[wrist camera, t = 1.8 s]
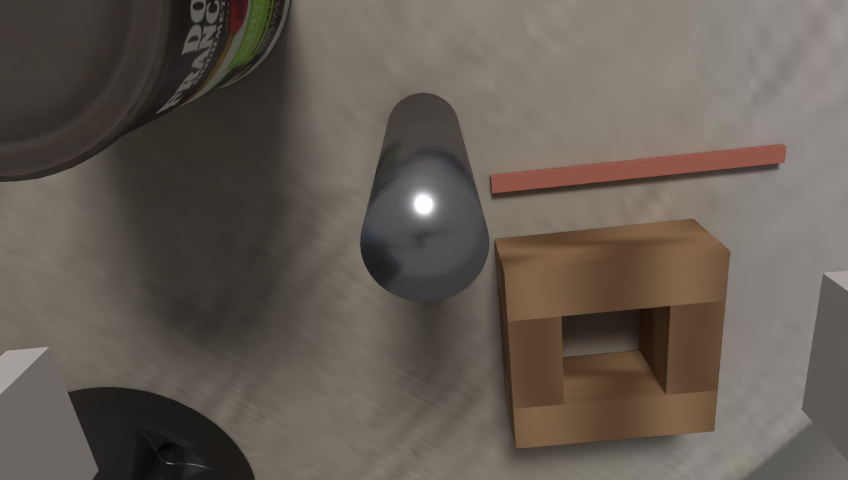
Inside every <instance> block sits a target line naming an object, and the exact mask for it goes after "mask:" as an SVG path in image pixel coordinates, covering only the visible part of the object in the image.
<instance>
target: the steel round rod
mask: <svg viewBox="0 0 848 480" xmlns="http://www.w3.org/2000/svg"><path fill="white" fill-rule="evenodd" d="M360 246H361V253H362V258H363V261H364V263H365V266H366V268H367V270H368V271H369V273H370V274H371V276H372V277H373V278H374V280H375V281H376V282H377V283H378V284H379V285H380V286H382V287H383V288H384V289H385V290H387V291H389V292H390V293H392V294H394V295H396V296H398V297H401V298H404V299H407V300H412V301H419V302H431V301H438V300H442V299H446V298H448V297H451V296H453V295H455V294H457V293H459V292H461V291H462V290H464V289H465V288H466V287H468V286H469V285H470V284H471V283H472V282H473V281H474V280H475V279H476V277H477V276H478V275H479V273H480V272H481V270H482V269H483V266H484V264H485V262H486V259H487V255H488V250H489V235H488V229H487V225H486V222H485V218H484V214H483V211H482V207H481V203H480V199H479V196H478V192H477V188H476V185H475V181H474V177H473V173H472V170H471V166H470V162H469V159H468V155H467V151H466V147H465V144H464V140H463V136H462V133H461V129H460V125H459V121H458V118H457V115H456V113H455V111H454V109H453V108H452V107H451V105H450V104H449V103H448V102H447V101H445V100H444V99H443V98H441V97H439V96H437V95H434V94H430V93H417V94H413V95H410V96H408V97H406V98H404V99H403V100H401V101H400V102H399V103H398V104H397V105H396V106H395V107H394V109H393V110H392V112H391V114H390V117H389V120H388V124H387V128H386V132H385V136H384V140H383V145H382V149H381V153H380V157H379V161H378V165H377V169H376V173H375V178H374V182H373V186H372V190H371V194H370V198H369V202H368V206H367V211H366V215H365V219H364V223H363V227H362V232H361V240H360Z"/></svg>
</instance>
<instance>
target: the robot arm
mask: <svg viewBox="0 0 848 480" xmlns="http://www.w3.org/2000/svg"><path fill="white" fill-rule="evenodd" d="M802 410H803V411H804V412H805V414H806V415H807V416H808V417H809V418H810V419H811V420H812V421H813V423H814V424H815V425H816V426H817V427H818V428H819V429H820V430H821V432H822V433H823V434H824V435H825V436H826V437H827V438H828V439H829V441H830V442H831V443H832V444H833V445H834V446H835V447H836V448H837V450H838V451H839V452H840V453H841V454H842V455H843V456H844V458H845V459H846V460H847V461H848V271H841V272H831V273H823V278H822V284H821V291H820V297H819V303H818V310H817V316H816V322H815V329H814V335H813V342H812V348H811V354H810V361H809V367H808V373H807V380H806V386H805V392H804V399H803V405H802ZM0 480H254V478H253V475H252V472H251V469H250V467H249V465H248V463H247V461H246V459H245V458H244V456H243V454H242V453H241V451H240V450H239V449H238V447H237V446H236V445H235V443H234V442H233V441H232V440H231V439H230V438H229V437H228V436H227V435H226V434H225V433H224V432H223V431H222V430H221V429H220V428H219V427H218V426H217V425H215V424H214V423H213V422H211V421H210V420H209V419H207V418H206V417H204V416H203V415H201V414H200V413H198V412H196V411H195V410H193V409H191V408H189V407H187V406H185V405H183V404H181V403H179V402H177V401H174V400H172V399H169V398H166V397H164V396H160V395H157V394H154V393H150V392H146V391H141V390H135V389H128V388H116V387H99V388H88V389H81V390H76V391H72V392H68V393H67V390H66V388H65V385H64V383H63V380H62V378H61V375H60V373H59V370H58V368H57V365H56V363H55V360H54V358H53V355H52V353H51V350H50V348H49V347H43V348H33V349H22V350H12V351H6V352H5V353H4V354H2V355H1V356H0Z"/></svg>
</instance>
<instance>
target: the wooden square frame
mask: <svg viewBox="0 0 848 480" xmlns="http://www.w3.org/2000/svg"><path fill="white" fill-rule="evenodd" d="M495 250H496V264H497V279H498V293H499V307H500V321H501V335H502V349H503V364H504V378H505V392H506V402H507V407H508V412H509V417H510V422H511V427H512V432H513V437H514V442H515V446H516V449H518V448H530V447H541V446H552V445H563V444H575V443H586V442H597V441H609V440H620V439H631V438H642V437H654V436H665V435H676V434H688V433H699V432H710V431H714V425H715V414H716V403H717V391H718V380H719V369H720V358H721V347H722V335H723V324H724V313H725V302H726V291H727V279H728V268H729V257H730V250H729V249H727V248H726V247H725V246H724V245H723V244H722V243H720V242H719V241H718V240H717V239H716V238H715V237H714V236H712V235H711V234H710V233H709V232H708V231H707V230H705V229H704V228H703V227H702V226H701V225H700V224H699V223H697V222H696V221H695V220H694V219H688V220H678V221H668V222H658V223H648V224H639V225H629V226H619V227H609V228H599V229H590V230H580V231H570V232H560V233H550V234H540V235H531V236H521V237H511V238H501V239H495ZM632 309H641V315H640V348H639V350H637V351H627V352H616V353H605V354H595V355H584V356H573V357H563V351H562V316H570V315H580V314H591V313H601V312H611V311H622V310H632Z"/></svg>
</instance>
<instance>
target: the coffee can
mask: <svg viewBox="0 0 848 480" xmlns="http://www.w3.org/2000/svg"><path fill="white" fill-rule="evenodd" d="M289 4H290V0H0V182H8V181H22V180H30V179H38V178H42V177H45V176H49V175H52V174H56V173H59V172H61V171H64V170H67V169H70V168H72V167H74V166H76V165H78V164H80V163H82V162H84V161H86V160H88V159H89V158H91V157H93V156H95V155H96V154H98V153H100V152H101V151H103V150H104V149H106V148H107V147H108V146H110V145H111V144H112V143H114V142H115V141H116V140H117V139H118V138H120V137H121V136H123V135H125V134H127V133H129V132H131V131H133V130H135V129H137V128H139V127H141V126H143V125H145V124H147V123H149V122H151V121H153V120H155V119H158V118H159V117H161V116H163V115H165V114H167V113H168V112H170V111H172V110H174V109H177V108H179V107H181V106H183V105H185V104H187V103H189V102H191V101H193V100H195V99H197V98H200V97H202V96H204V95H206V94H208V93H210V92H212V91H214V90H217V89H220V88H223V87H226V86H228V85H230V84H233V83H235V82H237V81H238V80H240V79H242V78H243V77H245V76H247V75H248V74H250V73H251V72H252V71H253V70H254V69H256V68H257V67H258V66H259V65H260V63H261V62H262V61H263V60H264V59H265V58H266V57H267V56H268V54H269V53H270V51H271V50H272V48H273V47H274V45H275V43H276V42H277V40H278V38H279V36H280V34H281V31H282V29H283V26H284V23H285V20H286V16H287V13H288V8H289Z"/></svg>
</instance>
